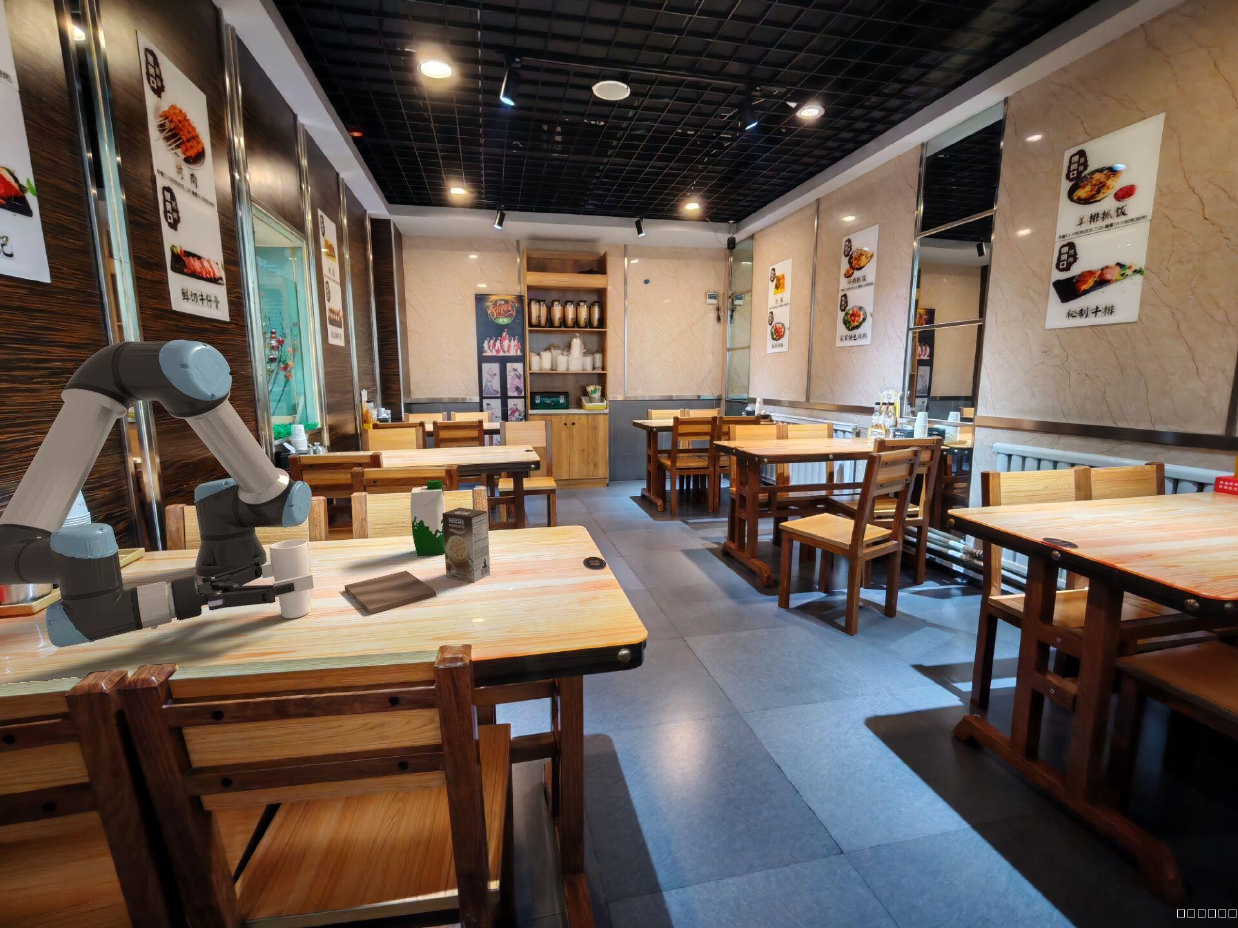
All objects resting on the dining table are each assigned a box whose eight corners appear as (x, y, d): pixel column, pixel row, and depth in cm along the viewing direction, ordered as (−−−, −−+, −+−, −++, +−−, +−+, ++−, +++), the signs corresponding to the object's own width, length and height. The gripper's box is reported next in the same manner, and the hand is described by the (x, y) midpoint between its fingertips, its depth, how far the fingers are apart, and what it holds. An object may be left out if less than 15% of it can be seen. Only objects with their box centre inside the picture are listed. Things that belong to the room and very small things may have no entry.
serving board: (345, 590, 124) (344, 585, 123) (406, 575, 133) (406, 570, 132) (369, 614, 110) (369, 609, 110) (436, 595, 119) (436, 590, 119)
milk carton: (448, 554, 148) (443, 483, 145) (413, 558, 145) (407, 485, 142) (448, 545, 156) (443, 477, 153) (415, 549, 154) (409, 480, 151)
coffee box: (444, 577, 131) (440, 512, 128) (462, 569, 136) (458, 507, 134) (474, 582, 127) (470, 516, 124) (492, 573, 133) (488, 510, 130)
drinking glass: (298, 622, 107) (289, 549, 105) (269, 619, 109) (260, 548, 106) (323, 608, 114) (315, 539, 111) (295, 606, 115) (287, 538, 113)
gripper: (172, 600, 107) (294, 574, 121) (178, 644, 89) (321, 607, 102) (166, 564, 106) (290, 541, 120) (171, 601, 88) (317, 569, 101)
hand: (305, 572), depth 111 cm, fingers open, 13 cm apart
